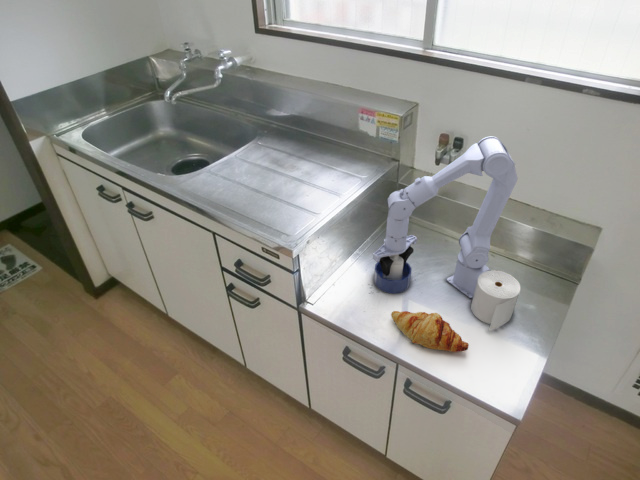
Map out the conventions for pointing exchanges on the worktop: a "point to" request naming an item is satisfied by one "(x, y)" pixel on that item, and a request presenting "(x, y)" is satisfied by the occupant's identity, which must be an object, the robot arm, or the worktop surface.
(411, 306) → the worktop surface
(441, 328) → the croissant
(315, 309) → the worktop surface
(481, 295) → the toilet tissue
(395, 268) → the eye dropper bottle
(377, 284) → the blue bowl
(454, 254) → the worktop surface
